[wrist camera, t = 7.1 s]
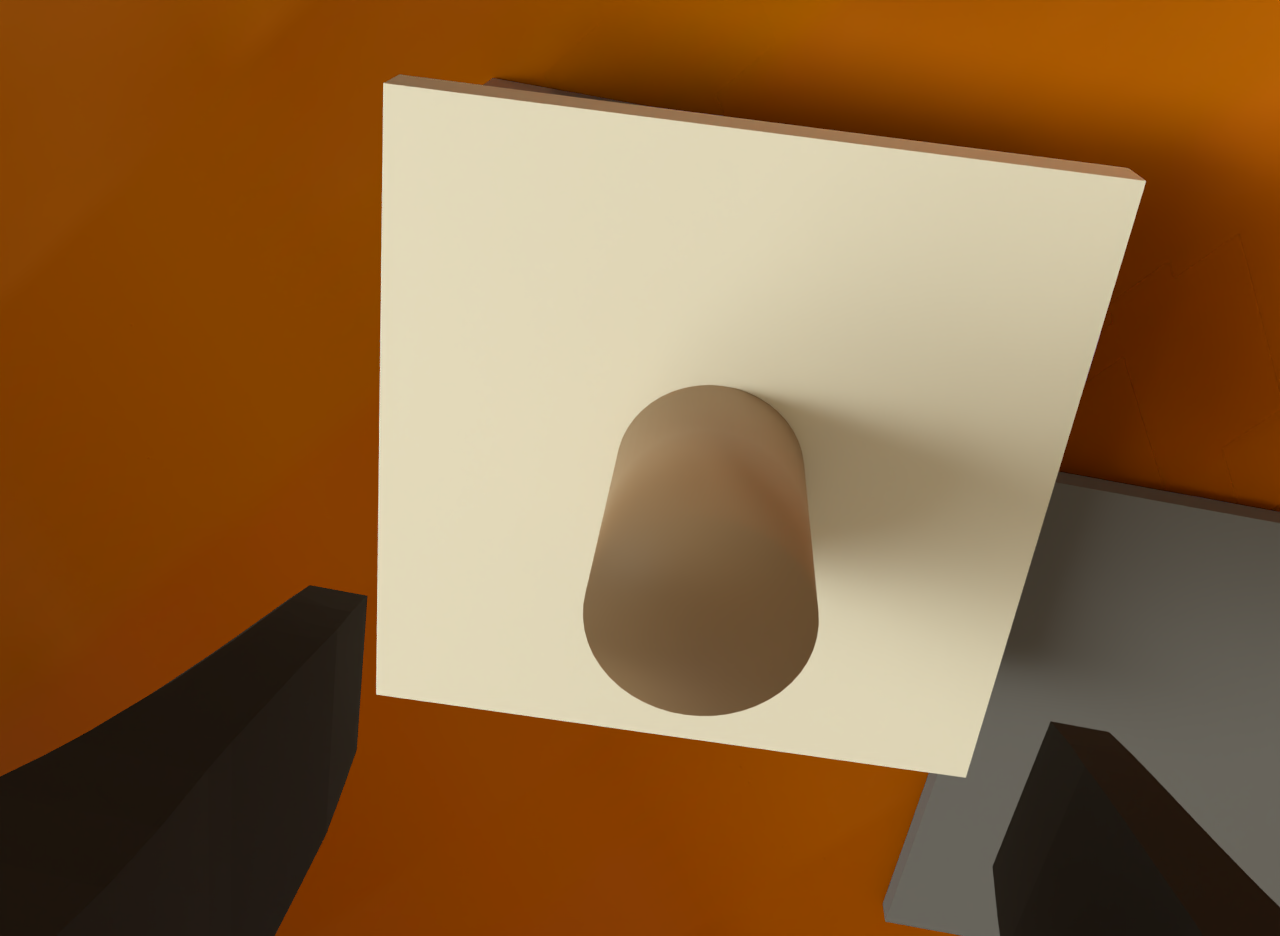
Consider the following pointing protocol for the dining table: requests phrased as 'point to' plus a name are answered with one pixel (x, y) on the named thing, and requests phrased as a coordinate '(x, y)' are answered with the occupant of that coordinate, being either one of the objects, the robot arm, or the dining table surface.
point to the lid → (721, 415)
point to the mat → (1121, 686)
